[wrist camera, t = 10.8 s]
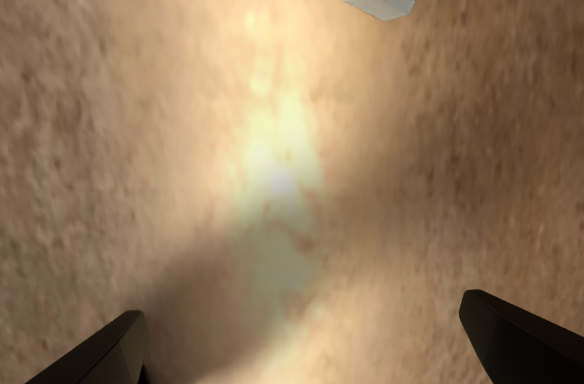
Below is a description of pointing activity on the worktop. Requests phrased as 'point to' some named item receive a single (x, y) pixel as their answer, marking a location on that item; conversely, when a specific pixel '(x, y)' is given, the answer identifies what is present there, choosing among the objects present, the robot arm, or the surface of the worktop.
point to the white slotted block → (384, 7)
